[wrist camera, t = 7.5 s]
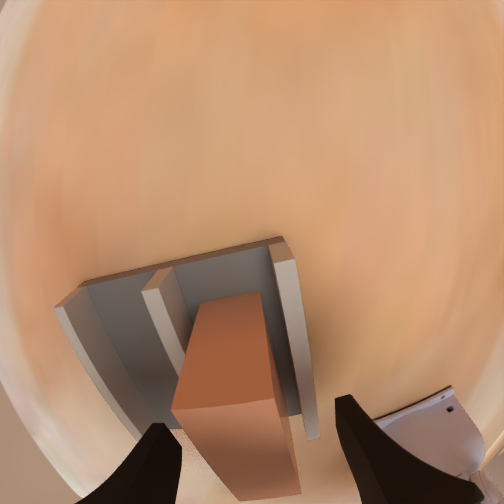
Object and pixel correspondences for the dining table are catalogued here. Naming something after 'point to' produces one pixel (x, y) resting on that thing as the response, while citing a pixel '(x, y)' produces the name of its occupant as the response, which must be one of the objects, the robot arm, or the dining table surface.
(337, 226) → the dining table surface
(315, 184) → the dining table surface
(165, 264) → the dish rack
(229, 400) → the terracotta tile
